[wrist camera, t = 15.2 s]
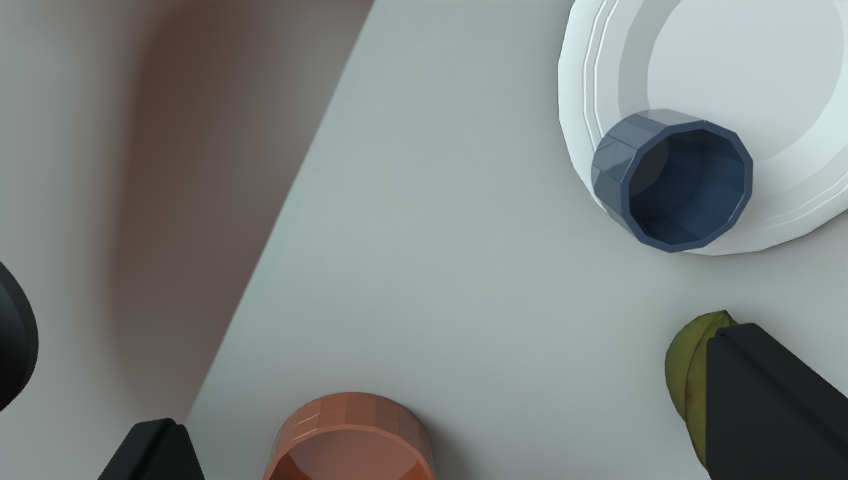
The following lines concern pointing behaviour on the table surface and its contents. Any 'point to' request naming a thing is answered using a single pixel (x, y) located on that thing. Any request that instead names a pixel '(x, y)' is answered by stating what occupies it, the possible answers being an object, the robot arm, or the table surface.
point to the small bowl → (672, 178)
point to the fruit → (693, 373)
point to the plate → (722, 95)
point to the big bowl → (351, 442)
